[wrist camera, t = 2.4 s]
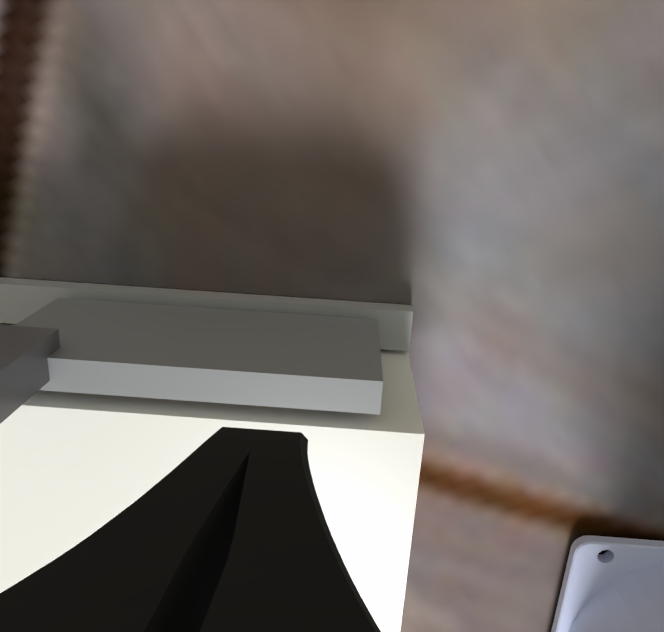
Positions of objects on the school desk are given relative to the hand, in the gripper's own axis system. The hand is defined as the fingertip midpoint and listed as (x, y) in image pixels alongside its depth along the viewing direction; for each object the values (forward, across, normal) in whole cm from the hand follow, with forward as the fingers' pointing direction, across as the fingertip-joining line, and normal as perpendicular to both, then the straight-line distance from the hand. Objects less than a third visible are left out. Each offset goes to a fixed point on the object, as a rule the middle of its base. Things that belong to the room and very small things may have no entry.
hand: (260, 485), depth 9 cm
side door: (+8, +2, 0) cm, 8 cm away
